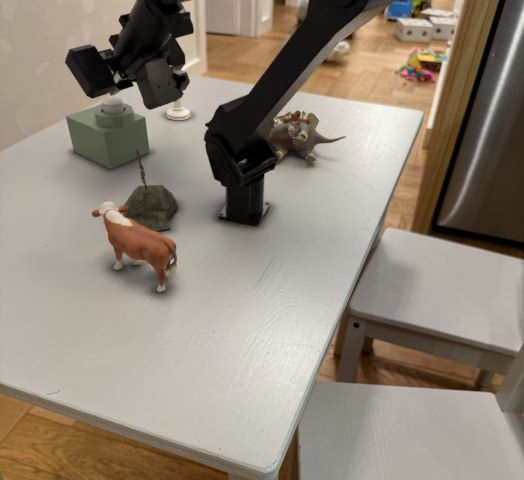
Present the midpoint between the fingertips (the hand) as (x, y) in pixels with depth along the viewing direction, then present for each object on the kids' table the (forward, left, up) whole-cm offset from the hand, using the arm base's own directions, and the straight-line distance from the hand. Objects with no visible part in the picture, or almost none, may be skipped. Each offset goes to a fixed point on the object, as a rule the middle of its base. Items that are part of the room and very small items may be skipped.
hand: (110, 92), depth 81 cm
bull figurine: (-29, -19, -11) cm, 36 cm away
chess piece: (+21, -2, -11) cm, 24 cm away
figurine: (+16, -27, -11) cm, 33 cm away
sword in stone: (-16, -14, -11) cm, 24 cm away
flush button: (0, 0, -3) cm, 3 cm away
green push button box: (+1, +2, -11) cm, 11 cm away
